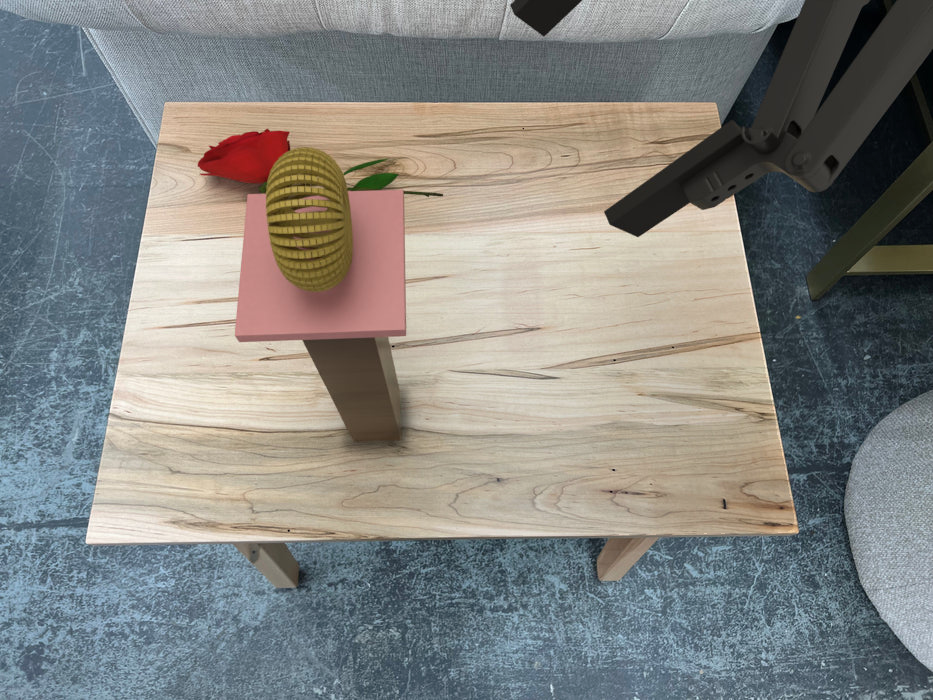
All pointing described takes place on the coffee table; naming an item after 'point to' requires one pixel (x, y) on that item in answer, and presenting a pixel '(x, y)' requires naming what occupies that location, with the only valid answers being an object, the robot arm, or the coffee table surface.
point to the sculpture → (309, 219)
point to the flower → (272, 161)
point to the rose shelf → (344, 306)
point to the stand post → (361, 384)
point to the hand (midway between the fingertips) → (570, 116)
